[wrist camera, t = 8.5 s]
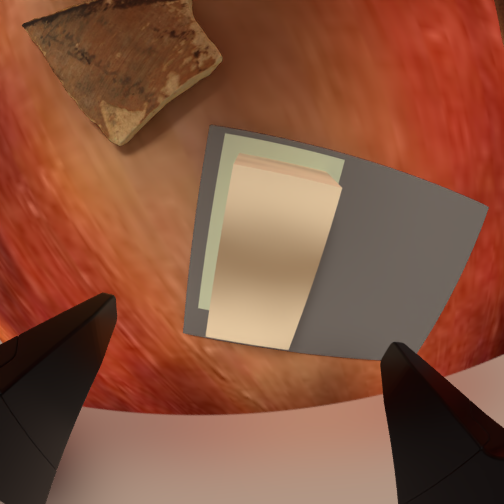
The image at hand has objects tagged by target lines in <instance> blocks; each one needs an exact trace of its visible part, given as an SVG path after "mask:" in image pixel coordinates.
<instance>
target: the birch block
mask: <svg viewBox="0 0 504 504" xmlns="http://www.w3.org/2000/svg"><path fill="white" fill-rule="evenodd" d="M341 191H342V187H341V186H340V185H339V184H338V183H337V182H336V181H335V180H334V179H333V178H332V177H331V176H330V175H329V174H328V173H327V172H326V171H322V170H318V169H314V168H309V167H305V166H301V165H297V164H292V163H288V162H283V161H278V160H274V159H269V158H264V157H259V156H254V155H248V154H243V153H239V154H238V156H237V158H236V160H235V162H234V164H233V169H232V174H231V180H230V185H229V191H228V196H227V202H226V208H225V214H224V220H223V225H222V231H221V237H220V244H219V250H218V256H217V262H216V269H215V275H214V282H213V288H212V295H211V302H210V308H209V315H208V322H207V329H206V337H210V338H216V339H221V340H227V341H232V342H238V343H244V344H250V345H257V346H263V347H270V348H277V349H284V350H289V347H290V345H291V342H292V339H293V337H294V334H295V331H296V329H297V326H298V323H299V320H300V318H301V315H302V312H303V309H304V307H305V304H306V301H307V298H308V295H309V292H310V289H311V286H312V284H313V281H314V278H315V275H316V272H317V269H318V266H319V263H320V260H321V256H322V253H323V250H324V247H325V244H326V241H327V238H328V234H329V231H330V228H331V225H332V221H333V218H334V215H335V211H336V208H337V205H338V201H339V198H340V194H341Z"/></svg>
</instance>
